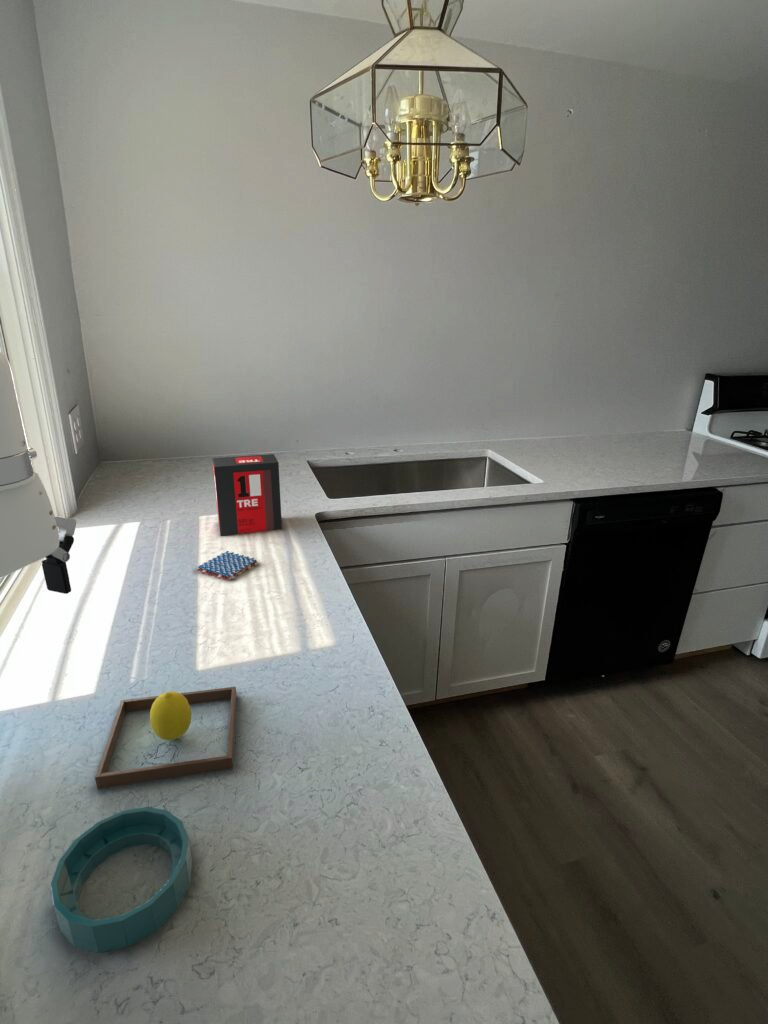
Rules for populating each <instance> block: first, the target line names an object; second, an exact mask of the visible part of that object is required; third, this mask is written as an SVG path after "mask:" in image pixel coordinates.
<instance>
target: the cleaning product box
mask: <svg viewBox="0 0 768 1024" xmlns="http://www.w3.org/2000/svg"><path fill="white" fill-rule="evenodd" d="M279 464H280V463H279V461H278V459H277V457H276V455H275V453H272V454H271V453H268V454H254V455H240V456H239V455H238V456H224V457H223V456H221V457H212V468H213V477H214V490H215V499H216V510H217V520H218V529H219V536H220V537H225V536H235V535H244V534H253V533H263V532H272V531H274V532H275V531H282V530H283V521H282V519H283V518H282V502H281V501H282V500H281V483H280V465H279Z"/></svg>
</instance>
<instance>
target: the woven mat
mask: <svg viewBox="0 0 768 1024" xmlns="http://www.w3.org/2000/svg"><path fill="white" fill-rule="evenodd" d="M253 566H258V561H257V559H255V557H250V556H244V554H241V555H239V553H235V552H230V551H229V550H226V551H224V552H221V553H220V555H216V556H215V557H212V558H211V559H208V560H207V561H206V562H203V563H201V564H199V565H198V566H197V569H196V571H197V572H199V573H201V574H205V575H208V576H209V575H210V576H213V577H216V578H217V579H222V580H227V581H230V580H231V579H232V580H233V579H235V578H237V577H239V576H240V575H242V574H243V573H244V572H246V571H247V570H251V568H253Z"/></svg>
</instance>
